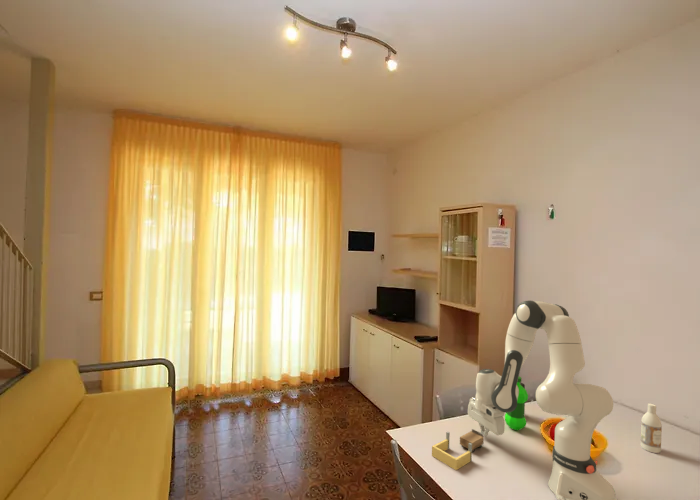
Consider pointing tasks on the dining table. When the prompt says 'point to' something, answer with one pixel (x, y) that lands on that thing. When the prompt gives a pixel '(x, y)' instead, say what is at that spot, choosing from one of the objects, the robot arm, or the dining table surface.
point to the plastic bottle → (518, 410)
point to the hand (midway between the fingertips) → (484, 434)
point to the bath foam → (651, 430)
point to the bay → (447, 458)
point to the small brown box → (472, 439)
